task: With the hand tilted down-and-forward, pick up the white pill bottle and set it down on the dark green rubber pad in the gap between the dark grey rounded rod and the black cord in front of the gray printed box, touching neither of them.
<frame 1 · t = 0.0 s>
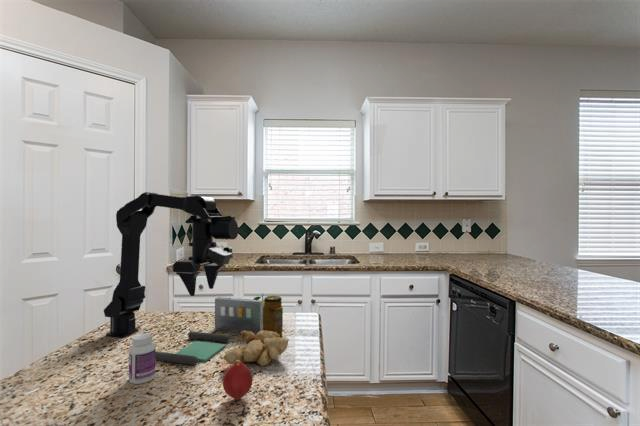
hand: (202, 292, 95), 15 cm above the countertop, tool pointing down, fingers open, 9 cm apart
dark grey rounded rod: (173, 361, 82), on the countertop
cord far: (207, 339, 96), on the countertop
pill bottle: (142, 379, 73), on the countertop
gray printed box: (238, 330, 104), on the countertop
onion: (237, 400, 65), on the countertop
pad: (200, 351, 88), on the countertop
ginger root: (259, 358, 85), on the countertop
condiment: (273, 338, 99), on the countertop
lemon: (262, 322, 112), on the countertop
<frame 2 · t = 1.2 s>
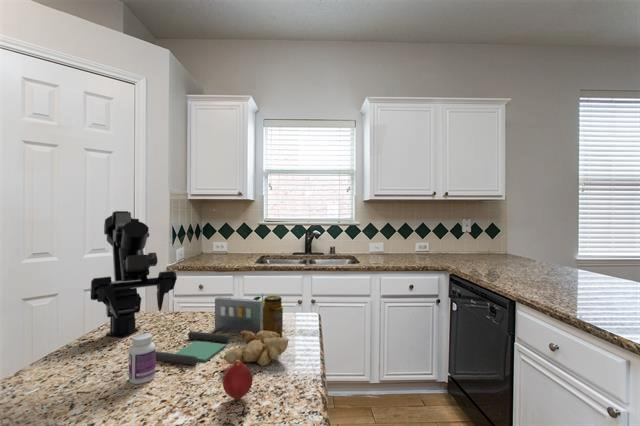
hand: (139, 313, 78), 13 cm above the countertop, tool tilted 45°, fingers open, 9 cm apart
nothing on the countertop moved.
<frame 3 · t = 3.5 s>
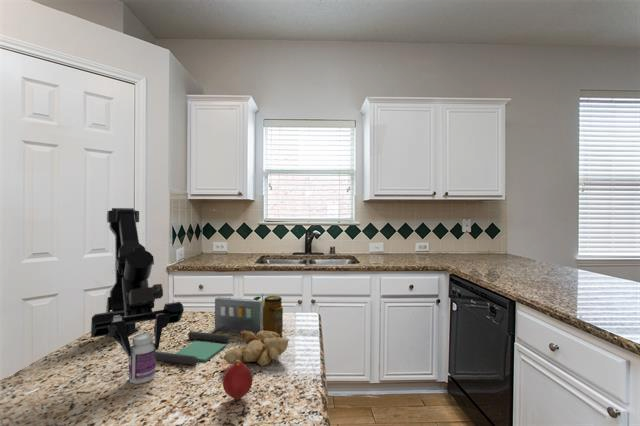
hand: (143, 352, 72), 7 cm above the countertop, tool tilted 45°, fingers closed on pill bottle, 5 cm apart
pill bottle: (142, 379, 73), on the countertop, touching gripper
everything else where it was.
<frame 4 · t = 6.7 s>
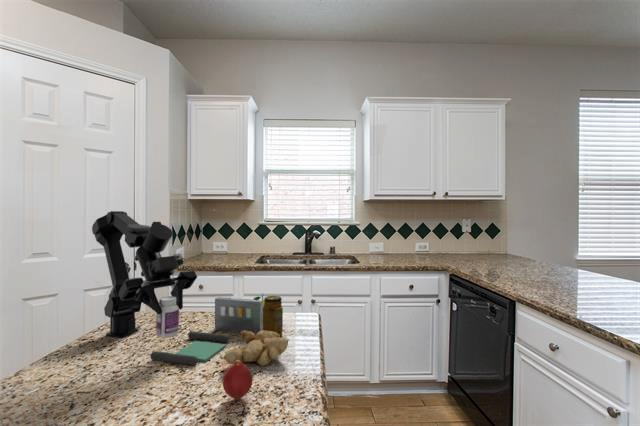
hand: (171, 311, 83), 12 cm above the countertop, tool tilted 45°, fingers closed on pill bottle, 5 cm apart
pill bottle: (167, 335, 84), point 6 cm above the countertop, touching gripper
everything else where it was.
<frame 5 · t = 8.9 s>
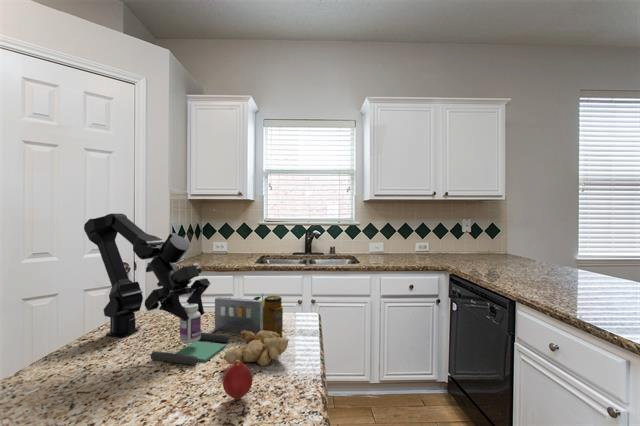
hand: (195, 317, 89), 9 cm above the countertop, tool tilted 45°, fingers closed on pill bottle, 5 cm apart
pill bottle: (190, 340, 89), point 2 cm above the countertop, touching gripper
everything else where it was.
when the fingers open (7 cm above the countertop, at t = 10.0 s): pill bottle stays where it is, resting on pad.
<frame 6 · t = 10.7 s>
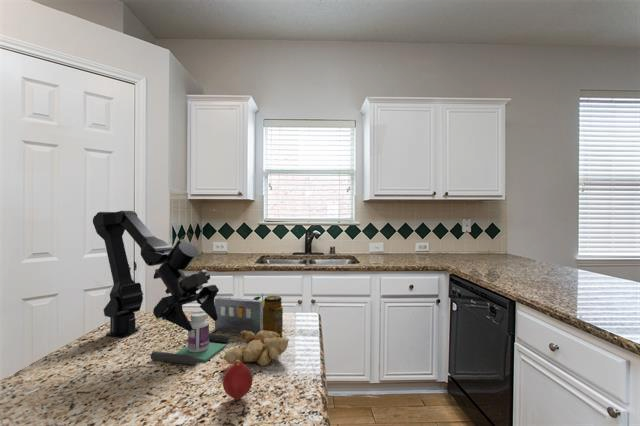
hand: (204, 324, 87), 8 cm above the countertop, tool tilted 45°, fingers open, 9 cm apart
pill bottle: (198, 349, 88), resting on pad
everything else where it was.
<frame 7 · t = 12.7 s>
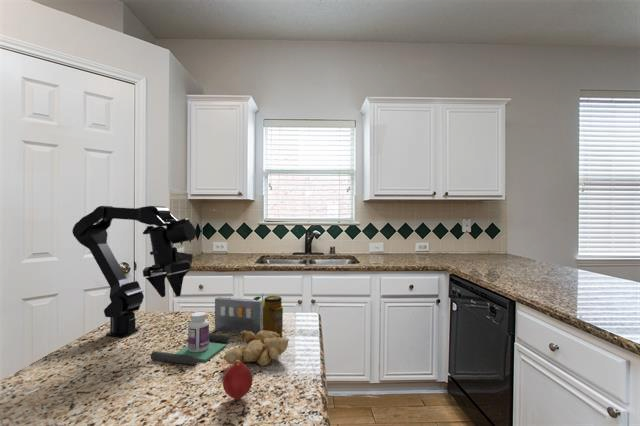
hand: (170, 296, 98), 12 cm above the countertop, tool pointing down, fingers open, 9 cm apart
nothing on the countertop moved.
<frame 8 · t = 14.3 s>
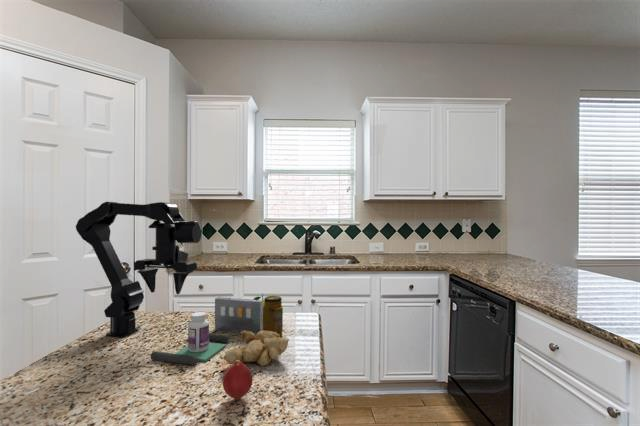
hand: (165, 293, 100), 13 cm above the countertop, tool pointing down, fingers open, 9 cm apart
nothing on the countertop moved.
at the end: pill bottle inside the target area on the pad (0.7 cm from its centre), point 0.4 cm above the pad's base; pill bottle tilted 0°; pill bottle touching pad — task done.
